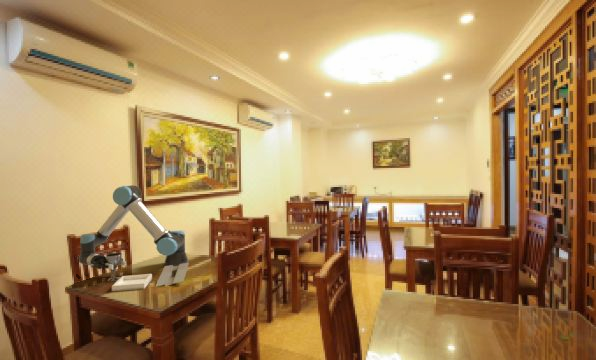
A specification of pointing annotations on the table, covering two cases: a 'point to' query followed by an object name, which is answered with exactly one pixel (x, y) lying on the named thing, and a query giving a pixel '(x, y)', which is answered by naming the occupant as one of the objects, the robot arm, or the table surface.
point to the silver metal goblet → (114, 263)
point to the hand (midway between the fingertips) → (119, 265)
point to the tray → (132, 282)
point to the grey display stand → (172, 274)
